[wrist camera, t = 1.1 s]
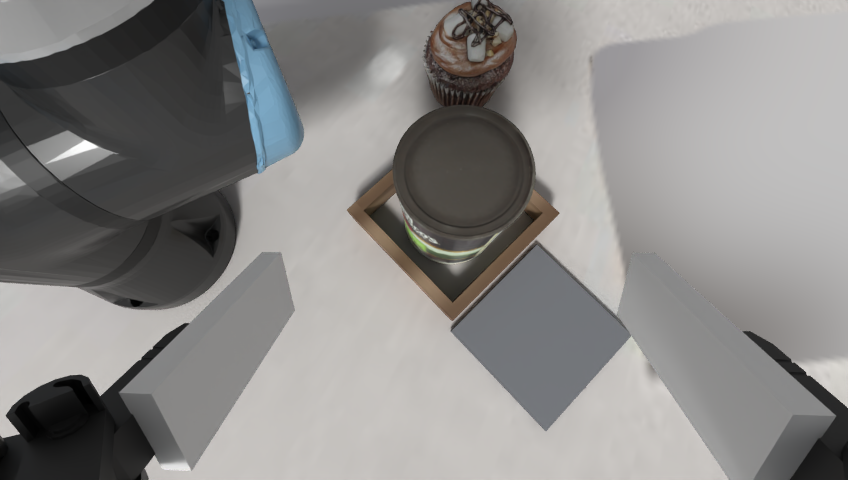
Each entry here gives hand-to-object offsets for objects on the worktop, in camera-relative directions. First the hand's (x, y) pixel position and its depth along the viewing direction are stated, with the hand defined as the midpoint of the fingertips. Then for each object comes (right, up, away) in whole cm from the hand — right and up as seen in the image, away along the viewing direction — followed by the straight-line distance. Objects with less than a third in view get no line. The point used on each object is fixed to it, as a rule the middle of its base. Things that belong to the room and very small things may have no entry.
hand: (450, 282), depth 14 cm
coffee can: (+2, +4, +26) cm, 26 cm away
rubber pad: (+11, -8, +23) cm, 27 cm away
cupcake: (+4, +21, +29) cm, 36 cm away
